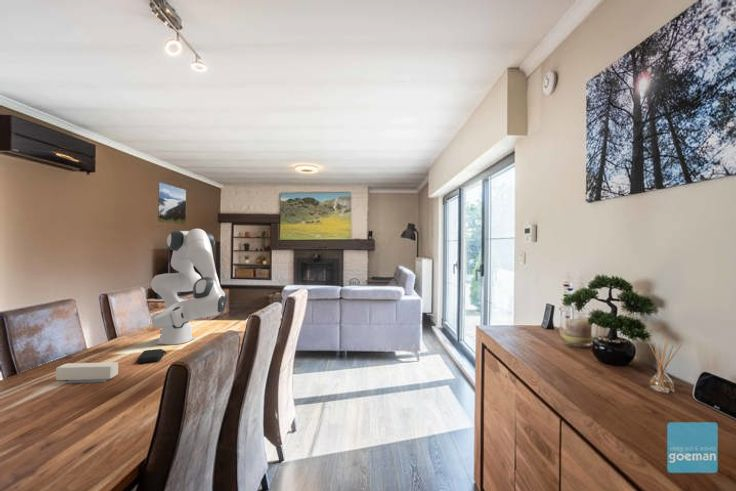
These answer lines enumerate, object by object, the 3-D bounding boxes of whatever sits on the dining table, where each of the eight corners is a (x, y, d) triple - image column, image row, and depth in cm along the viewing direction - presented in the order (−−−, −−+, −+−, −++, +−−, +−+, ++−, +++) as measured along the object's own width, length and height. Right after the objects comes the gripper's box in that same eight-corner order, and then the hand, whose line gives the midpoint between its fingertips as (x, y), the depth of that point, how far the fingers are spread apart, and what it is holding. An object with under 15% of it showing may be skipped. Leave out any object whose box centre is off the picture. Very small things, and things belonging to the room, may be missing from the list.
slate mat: (66, 383, 132) (66, 382, 132) (84, 373, 142) (84, 372, 142) (103, 382, 134) (103, 381, 134) (119, 372, 144) (119, 372, 144)
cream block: (110, 378, 136) (55, 380, 134) (117, 374, 141) (65, 375, 139) (110, 366, 136) (56, 367, 134) (118, 362, 141) (65, 363, 139)
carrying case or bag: (163, 362, 158) (167, 353, 171) (163, 356, 158) (167, 347, 171) (136, 365, 154) (142, 355, 167) (136, 358, 154) (142, 349, 167)
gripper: (193, 296, 154) (163, 301, 153) (172, 312, 134) (137, 319, 133) (197, 308, 155) (167, 314, 154) (176, 327, 135) (141, 334, 134)
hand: (153, 317), depth 143 cm, fingers closed
